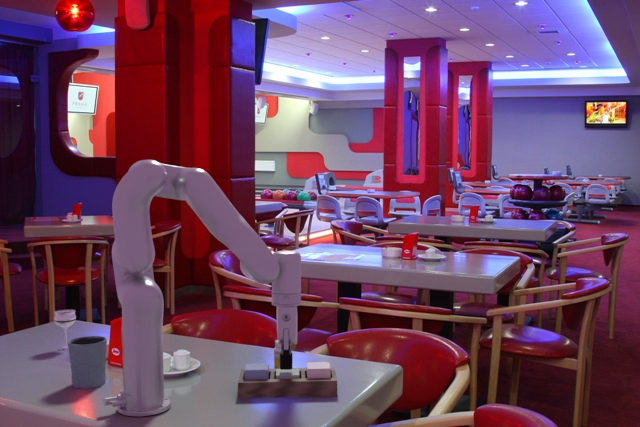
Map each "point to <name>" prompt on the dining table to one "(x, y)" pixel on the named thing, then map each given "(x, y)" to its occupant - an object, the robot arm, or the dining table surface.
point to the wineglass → (65, 320)
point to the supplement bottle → (277, 355)
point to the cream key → (318, 370)
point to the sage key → (287, 374)
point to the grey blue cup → (88, 361)
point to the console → (287, 386)
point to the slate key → (257, 371)
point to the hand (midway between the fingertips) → (286, 368)
